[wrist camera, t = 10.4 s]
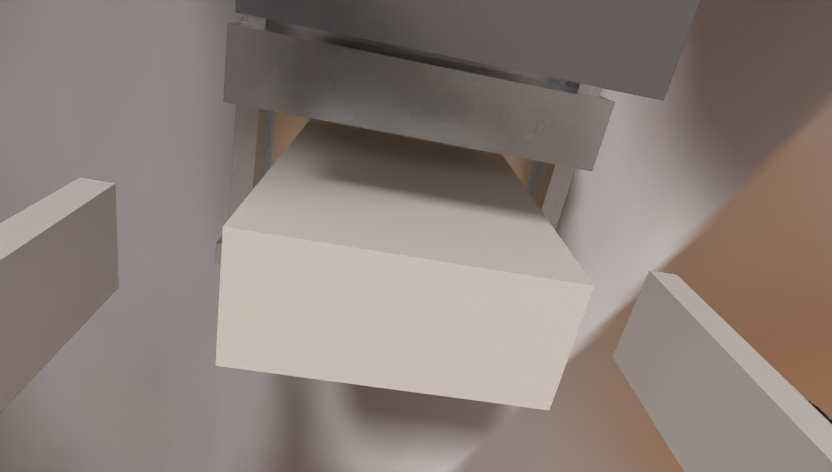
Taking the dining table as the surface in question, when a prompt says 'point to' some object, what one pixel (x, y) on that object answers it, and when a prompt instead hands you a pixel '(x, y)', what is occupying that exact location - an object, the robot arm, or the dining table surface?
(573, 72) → the frame
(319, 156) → the panel
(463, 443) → the dining table surface
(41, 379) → the dining table surface
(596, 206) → the dining table surface
